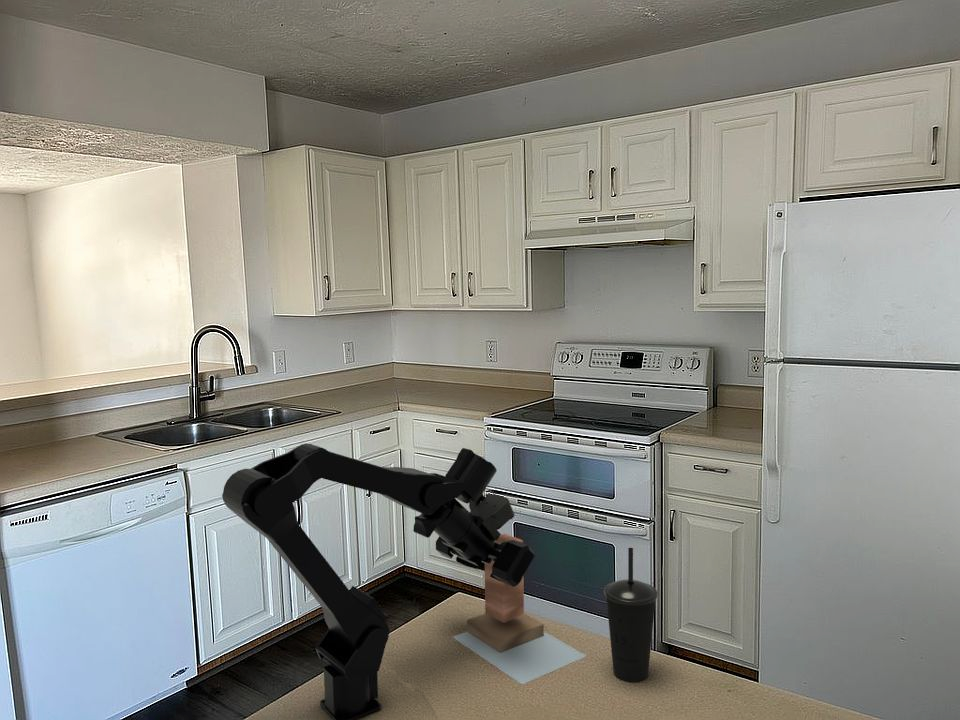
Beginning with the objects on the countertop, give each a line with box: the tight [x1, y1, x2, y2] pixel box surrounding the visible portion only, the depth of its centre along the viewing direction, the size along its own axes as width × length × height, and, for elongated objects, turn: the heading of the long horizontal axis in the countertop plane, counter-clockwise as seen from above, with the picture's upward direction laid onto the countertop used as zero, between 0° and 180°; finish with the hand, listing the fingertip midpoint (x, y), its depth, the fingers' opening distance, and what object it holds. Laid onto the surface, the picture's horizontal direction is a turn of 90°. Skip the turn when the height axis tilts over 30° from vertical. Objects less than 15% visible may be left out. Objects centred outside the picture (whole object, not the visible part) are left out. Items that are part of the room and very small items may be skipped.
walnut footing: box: [466, 613, 545, 653], centre depth 119 cm, size 9×9×2 cm
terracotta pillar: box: [484, 533, 525, 623], centre depth 118 cm, size 4×4×12 cm
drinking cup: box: [603, 547, 659, 684], centre depth 105 cm, size 8×8×20 cm
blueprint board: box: [452, 631, 588, 685], centre depth 115 cm, size 13×18×1 cm
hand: (510, 576), depth 119 cm, fingers closed on terracotta pillar, 4 cm apart
